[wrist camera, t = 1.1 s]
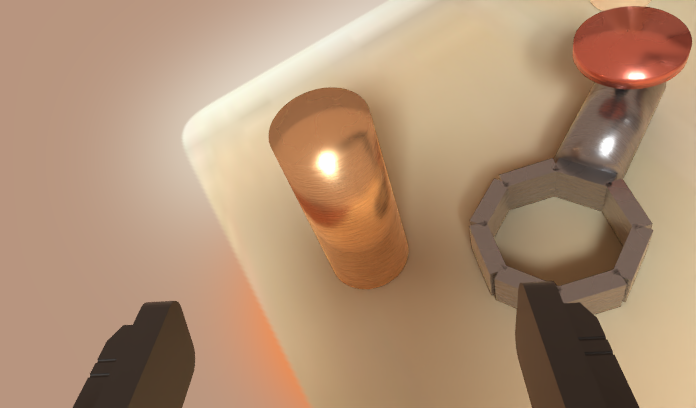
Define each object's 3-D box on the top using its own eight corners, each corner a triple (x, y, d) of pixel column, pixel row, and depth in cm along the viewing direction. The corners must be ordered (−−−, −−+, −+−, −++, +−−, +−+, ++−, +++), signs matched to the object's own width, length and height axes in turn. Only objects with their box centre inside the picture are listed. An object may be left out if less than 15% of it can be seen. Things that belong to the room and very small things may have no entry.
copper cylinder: (357, 210, 40) (306, 78, 31) (422, 236, 38) (389, 101, 28) (316, 270, 38) (248, 147, 29) (382, 301, 36) (332, 179, 26)
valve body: (564, 82, 42) (570, -6, 37) (704, 114, 38) (736, 21, 32) (451, 280, 35) (437, 210, 30) (606, 347, 31) (626, 280, 25)
